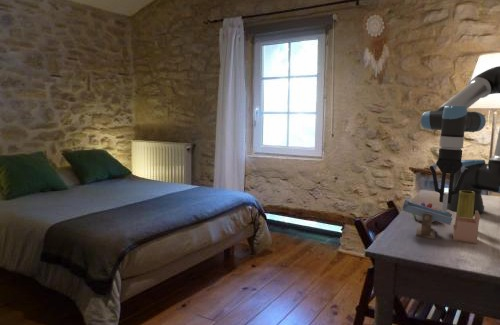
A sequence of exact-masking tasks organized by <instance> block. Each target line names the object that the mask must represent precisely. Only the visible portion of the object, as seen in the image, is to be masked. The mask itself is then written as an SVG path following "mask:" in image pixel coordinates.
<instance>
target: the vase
mask: <svg viewBox="0 0 500 325" xmlns="http://www.w3.org/2000/svg"><path fill="white" fill-rule="evenodd" d="M474 201H475V192H473V191H466V190H460V191H459V199H458V206H457V211H456V214H455V217H456V216H458V217H465V218H473V219H474V214H473V212H474ZM454 225H456V219H455V220H454Z"/></svg>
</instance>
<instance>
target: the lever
mask: <svg viewBox="0 0 500 325" xmlns="http://www.w3.org/2000/svg"><path fill="white" fill-rule="evenodd" d="M410 198H411V197H407V196H406V197H405V199H404V202H403V206H402V209H401V211H404V212H406V213H409V214H411V215H412V214H415V215H419V216H422V217H423V213H428V214H432V220H435V222H439V223H441V224H445V225H449V226H451V224H452V220H453V217H452V215H453V214H451V213H450V212H448V211H447V212H442V209H437V208H436V209H437V210H436V209H432V208H429V207H425V206H426V205H425V206H422V205H421V204H418V203H415V202H411V201H410Z"/></svg>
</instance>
